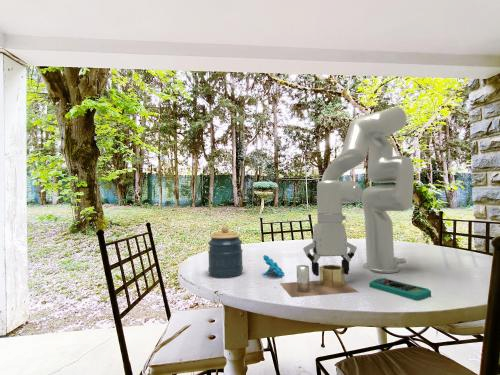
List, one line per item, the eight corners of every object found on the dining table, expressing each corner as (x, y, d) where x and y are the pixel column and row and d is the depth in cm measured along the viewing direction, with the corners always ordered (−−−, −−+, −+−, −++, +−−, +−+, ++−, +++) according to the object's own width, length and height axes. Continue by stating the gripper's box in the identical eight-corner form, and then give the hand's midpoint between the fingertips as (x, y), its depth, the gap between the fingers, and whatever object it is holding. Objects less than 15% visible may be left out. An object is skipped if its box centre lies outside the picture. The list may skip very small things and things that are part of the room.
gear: (283, 276, 94) (263, 254, 97) (271, 289, 94) (251, 266, 97) (288, 272, 105) (269, 252, 108) (277, 283, 105) (258, 263, 108)
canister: (248, 270, 109) (247, 225, 110) (232, 279, 97) (231, 228, 98) (219, 268, 115) (219, 224, 115) (201, 276, 103) (200, 227, 104)
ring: (337, 279, 93) (337, 264, 93) (348, 286, 86) (347, 269, 86) (317, 281, 92) (316, 265, 92) (326, 287, 85) (325, 271, 85)
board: (338, 281, 93) (338, 279, 93) (359, 294, 80) (359, 291, 80) (279, 285, 90) (279, 283, 90) (291, 299, 77) (291, 297, 77)
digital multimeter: (382, 285, 89) (381, 276, 89) (432, 299, 76) (432, 288, 76) (367, 290, 85) (366, 280, 85) (417, 305, 72) (417, 293, 72)
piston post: (307, 288, 85) (306, 264, 85) (311, 292, 81) (310, 267, 81) (295, 289, 84) (294, 265, 84) (299, 293, 80) (298, 268, 81)
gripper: (349, 218, 94) (350, 270, 93) (299, 219, 92) (300, 272, 91) (361, 219, 87) (362, 276, 86) (307, 220, 84) (308, 278, 83)
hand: (330, 274), depth 88 cm, fingers open, 9 cm apart
